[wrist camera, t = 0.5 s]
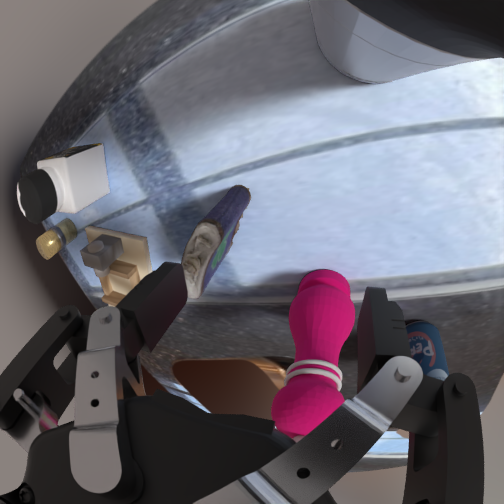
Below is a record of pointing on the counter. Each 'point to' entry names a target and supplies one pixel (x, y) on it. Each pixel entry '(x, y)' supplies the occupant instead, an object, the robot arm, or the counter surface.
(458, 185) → the counter surface
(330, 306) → the pepper mill
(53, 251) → the cylinder
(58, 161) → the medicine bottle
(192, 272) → the flask
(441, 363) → the soda can
